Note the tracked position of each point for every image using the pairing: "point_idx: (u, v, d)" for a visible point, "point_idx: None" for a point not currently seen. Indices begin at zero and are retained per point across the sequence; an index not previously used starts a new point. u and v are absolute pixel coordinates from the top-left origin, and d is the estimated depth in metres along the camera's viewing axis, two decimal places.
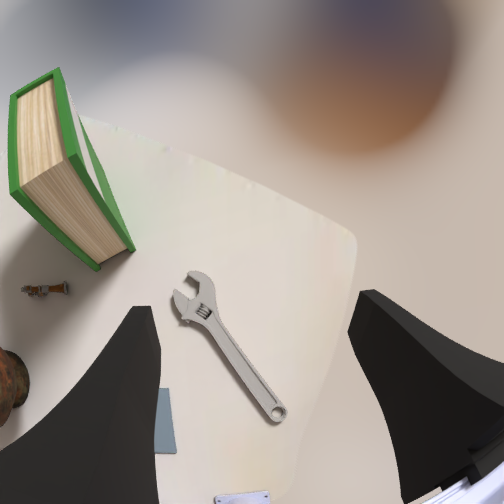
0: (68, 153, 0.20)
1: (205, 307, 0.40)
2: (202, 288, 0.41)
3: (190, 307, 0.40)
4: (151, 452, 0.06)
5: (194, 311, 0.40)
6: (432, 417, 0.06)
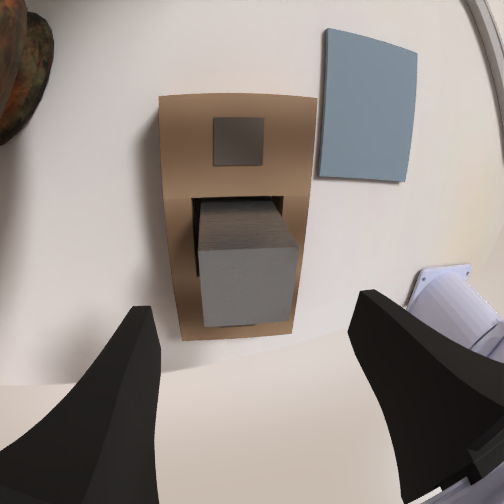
0: None
1: None
2: None
3: None
4: (151, 452, 0.06)
5: None
6: (432, 417, 0.06)
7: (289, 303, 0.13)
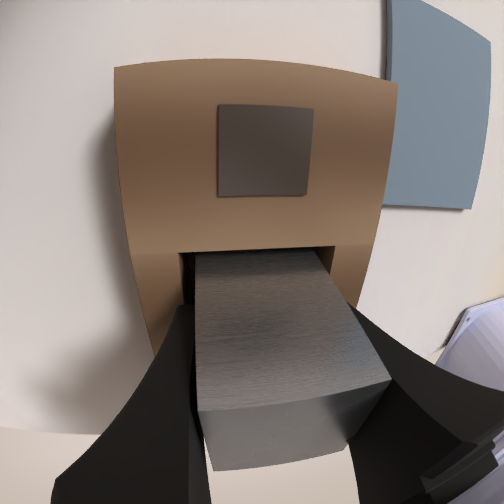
0: None
1: None
2: None
3: None
4: (203, 452, 0.07)
5: None
6: (386, 436, 0.05)
7: (350, 437, 0.07)
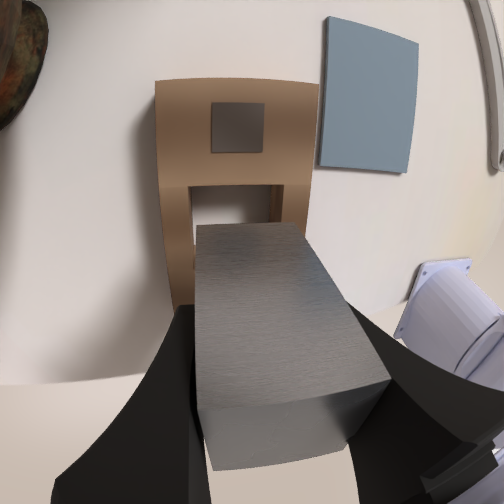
0: None
1: None
2: None
3: None
4: (203, 452, 0.07)
5: None
6: (386, 436, 0.05)
7: (350, 437, 0.07)
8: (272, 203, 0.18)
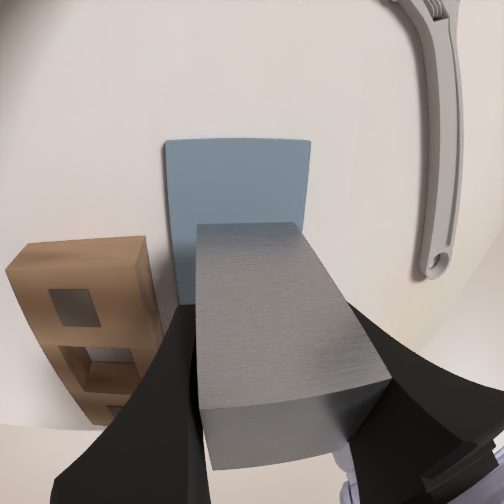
0: None
1: (439, 2, 0.09)
2: None
3: None
4: (203, 452, 0.07)
5: None
6: (386, 436, 0.05)
7: (349, 436, 0.07)
8: None
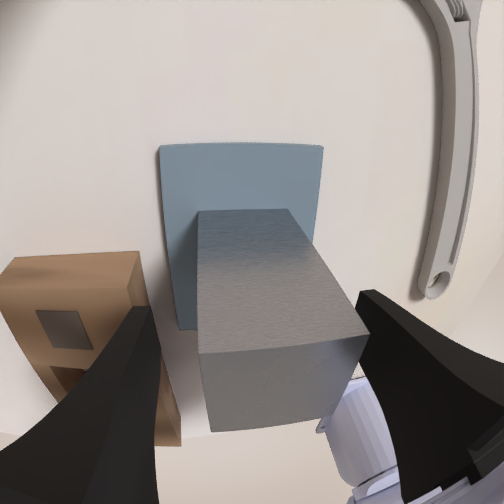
0: None
1: (460, 2, 0.08)
2: None
3: None
4: (151, 452, 0.06)
5: None
6: (432, 417, 0.06)
7: (337, 399, 0.08)
8: None
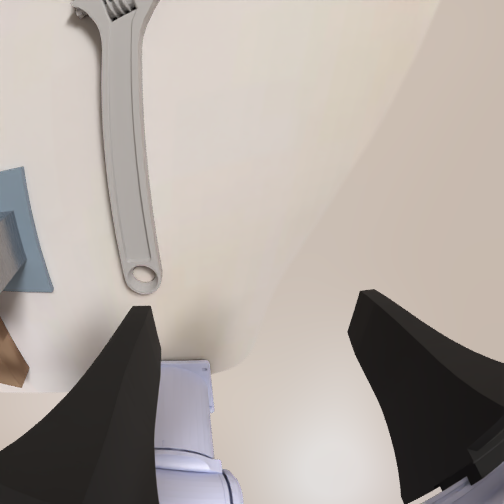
0: None
1: None
2: None
3: None
4: (151, 452, 0.06)
5: None
6: (432, 417, 0.06)
7: None
8: None
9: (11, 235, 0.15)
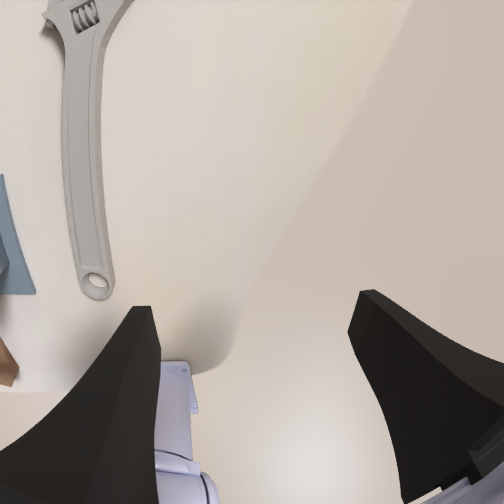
0: None
1: (93, 9, 0.10)
2: None
3: None
4: (151, 452, 0.06)
5: (70, 9, 0.10)
6: (432, 417, 0.06)
7: None
8: None
9: None
